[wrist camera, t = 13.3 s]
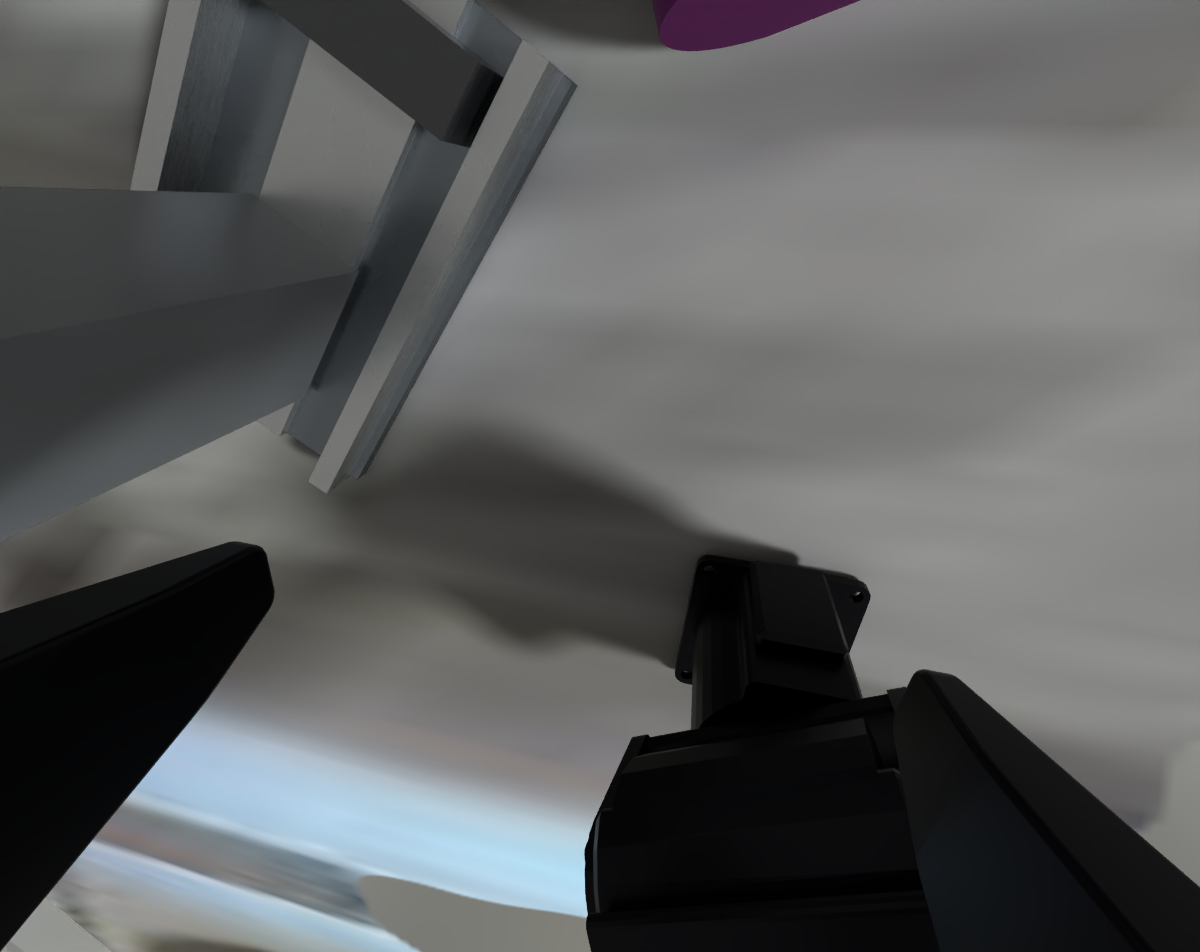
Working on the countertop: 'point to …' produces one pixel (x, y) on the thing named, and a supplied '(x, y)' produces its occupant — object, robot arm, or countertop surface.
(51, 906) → the pizza boxes
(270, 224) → the block
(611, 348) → the countertop surface
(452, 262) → the rail plate
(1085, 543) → the countertop surface
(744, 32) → the mounting bracket
